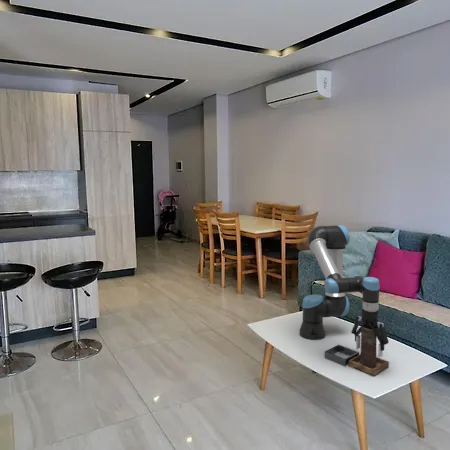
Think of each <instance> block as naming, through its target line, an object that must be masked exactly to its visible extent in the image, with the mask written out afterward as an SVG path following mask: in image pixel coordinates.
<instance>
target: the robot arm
mask: <svg viewBox="0 0 450 450" xmlns="http://www.w3.org/2000/svg"><path fill="white" fill-rule="evenodd" d="M350 240H351V239H350V233H349V230H348V228H347V227H346V226H345V225H341V224H339V225H338V224H336V225H319V226H316V227H314V228H313V229H312V230H310V232H309V234H308V237H307V245H308V248H309V250H311V252H313V253H314V256H315V258H316V261H317V263H318V265H319V267H320V269H321V272H322V274H323V276H324V278H325V280H324V283H323V284H324V285H323V286H324V291H325V293H324V296H323V295H321V294H308V295H305V297H304V298H303V300H302V304H301V305H302V306H301V307H302V323H301V325H300V328H299V335H300V337H302V338H304V339H307V340H315V341H317V340H322V339H324V338H325V337H326V336H327V335H326V333H327V332H326V330H325V326H324V323H323V320H324V318H335V317H336V318H337V317H344V316H346V315H347V314H348V313H349V309H350V299H349V298H348V296H347V295H346V294H347V293H348V294H349V293H360V294H362V298H361V299H362V301H361V305H362V306H361V315H357V316H355V322H354V325H353V327H352V329H351V331H350V333H351V335H352V334H353V335H354V342H355V350H359V349H361V326H365V327H367V328H370V329H372V330H373V331H374V333H375V335H376V337H377V338H376V339H377V340H378V342H379V343H378V346H377V349H378V350H377V352H378V353H377V357H378V358H382V356H383V352H384V351H385V345H388V344H389V339H388V335H387V332H386V329H385V322H380V321H379V307H380V305H379V304H380V303H379V301H380V287H381V286H380V280H379V279H378V278H376V277H373V276H366V277H364V276H362V275H359V274H355V275H353V276H351V277H343V276H344V275H343V274H344V272H343V271H344V266H343V265H344V251H345V250H346V247H347V246H348V245H349V244H350V242H351V241H350ZM361 322H362V324H361V325H360V323H361ZM359 326H360V327H359ZM375 328H376V329H375Z"/></svg>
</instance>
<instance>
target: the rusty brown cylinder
mask: <svg viewBox="0 0 450 450" xmlns="http://www.w3.org/2000/svg"><path fill="white" fill-rule="evenodd" d="M360 327H361V333H360V335H361V341H360V354H361V364H362V365H363V366H366V367H368V368H373V367H375V366H376V357H377V342H378V341H377V340H378V338H377V337H376V335H375V333H374V331H373V330H372V329H370V328H367V327H365V326H361V325H360ZM375 329H376V328H375Z"/></svg>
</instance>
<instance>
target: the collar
mask: <svg viewBox="0 0 450 450" xmlns="http://www.w3.org/2000/svg"><path fill="white" fill-rule="evenodd" d="M338 353H341V354H343V355H347V357H343V356H339V355H337V354H338ZM358 355H360V351H358V350H356V349H355V350H354V349H351V348H349V347H346V346H344V345H341V344H337V345H335V346H333V347H330V348H328V349H326V350H325V351H324V354H323V357H324V359H326V360H328V361H330V362H333V363H336V364H338V365H340V366H343V367H347V366H349V360H351V359H353V358H354V357H356V356H358Z"/></svg>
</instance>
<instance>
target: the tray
mask: <svg viewBox="0 0 450 450" xmlns="http://www.w3.org/2000/svg"><path fill="white" fill-rule="evenodd" d="M348 367H350V368H352V369H353V370H355V371H359V372H362V373H364V374H366V375H368V376H371V377H376V376H378V375H379V374H380V373H382V372H384V371H385V370H387V369H388V368H389V367H390V361H388V360H386V359H382V357H380V358H379V357H378V356H376V366H375V367H373V368H368V367H366V366H363V365H362V364H361V353H359V355H358V356H356V357H354V358H353V359H351V360H349V365H348Z"/></svg>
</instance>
